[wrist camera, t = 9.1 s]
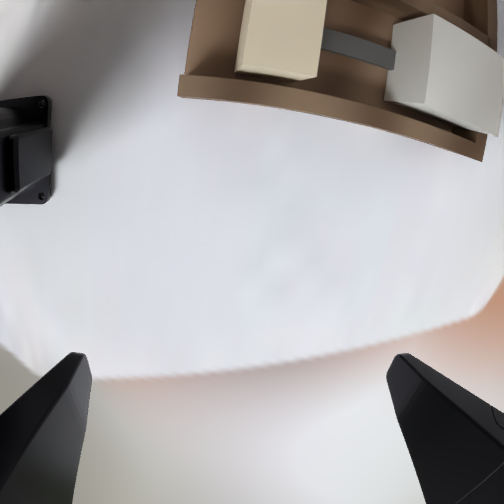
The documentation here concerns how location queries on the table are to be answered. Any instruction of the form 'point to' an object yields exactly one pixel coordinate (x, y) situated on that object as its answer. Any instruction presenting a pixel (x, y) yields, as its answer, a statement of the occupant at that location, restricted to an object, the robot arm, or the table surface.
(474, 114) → the cream white block dumbbell
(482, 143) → the lane rack
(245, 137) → the table surface
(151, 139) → the table surface
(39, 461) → the robot arm
